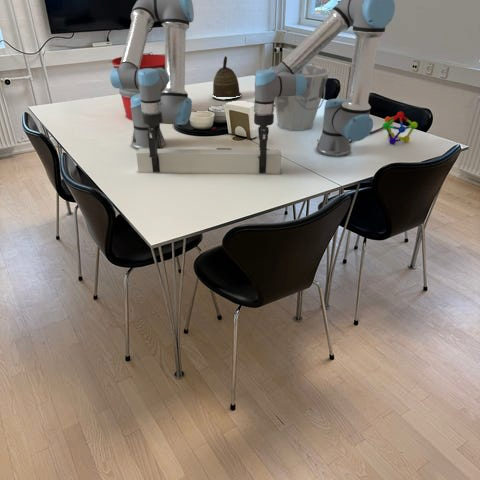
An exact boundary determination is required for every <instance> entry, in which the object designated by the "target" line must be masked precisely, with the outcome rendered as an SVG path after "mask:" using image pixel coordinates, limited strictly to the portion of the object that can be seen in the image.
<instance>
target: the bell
mask: <svg viewBox="0 0 480 480" xmlns="http://www.w3.org/2000/svg"><path fill="white" fill-rule="evenodd" d="M227 63H228V57H227V56H224V58H223V63H222V67H221V68H219V69H218V70H217V71H216V73H215V75H214V78H213V81H212V83H213V84H212V95H214V96H216V97H236V96H240V95H241V96H242V93H241V92H240V83H239V80H238V79H239V78H238V77H237V75H236V73H235V72H234V70H232V69H231V68H230V67H227Z"/></svg>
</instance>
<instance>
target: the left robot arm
mask: <svg viewBox="0 0 480 480" xmlns="http://www.w3.org/2000/svg"><path fill="white" fill-rule="evenodd" d="M194 18H195V12H194V3H193V0H136V2H135V4H134V5H133V7H132V9H131V13H130V20H131V22H130V27H129V30H128V34H127V37H126V41H125V45H124V48H123V51H122V56H121V57H122V59H121V63H120V66H119V68H114V67H113V68H112V69H111V70H110V73H109V80H110V81H109V82H110V84H111V86H112V87H113V88H114V89H118V90H119V89H139V90H140V94H137V95H134V96H133V97H132V98H131V111H132V119H133V120H132V125H133V132H132V135H131V138H130V140H131V147H132V148H134V149H135V150H138V149H149V151H150V156H149V157H151V158H152V168H153V172H152V173H159V172H160V167H159V157H158V152H157V149H164V148H163V147H164V146H165V144H166V140H165V137H164V135H163V132H162V130H161V126H160V125H175V126H180V125H181V126H183V125H186V124H188V122H189V121H190V119H191V116H192V111H193V101H192V99H191V98H190V97H189V93H188V92H187V91H186V89H185V85H186V84H185V82H186V81H185V80H186V31H187V30H188V29H189V28H190V23H192V22H194ZM155 22H161V27H163V28H164V31H165V32H164V33H165V34H164V37H165V38H164V49H165V50H164V55H165V70H164V69H163V68H156V69H152V68H147V69H139V67H140V63H141V59H142V56H143V55H144V54H143V53H144V51H145V47H146V43H147V41H148V36H149V33H150V29H151V28H153V26H154V23H155ZM164 88H165V89H164ZM162 89H164V90H163V91H162V92H161V96H160V91H161V90H162Z"/></svg>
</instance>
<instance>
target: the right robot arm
mask: <svg viewBox="0 0 480 480" xmlns="http://www.w3.org/2000/svg"><path fill="white" fill-rule="evenodd" d="M395 3H396V2H395V0H340V1H339V2H338V3H336V5H334V7H332V9H330V11H329V15H328V16H327V17H326V18H325V19H324V20H323V21H322V22H321V23H320V24H319V25H318V26H317V27H316V28H315V29H314V30H313V31H311V33H310V34H309V35H308V36H307V37H306V38H304V39H303V40H302V41H301V42H300V43H299V44H298V46H296V47H295V48H294V49H293V50H292V51H291V52H290V53H289V54H288V55H287V56H286V57H285V58H284V59H283V60H282V61H281V62H280V63H279V64H278V65H275V66H271V67H269V68H268V69H266V68H265V69H258V70H257V71H256V72H255V76H254V101H253V102H254V103H253V112H254V115H253V123H254V124H255V125H257V126H258V127H257V129H258V140H259V143H258V145H259V146H258V148H259V149H258V150H260V157H258V158H259V173H266V158H267V156H266V155H267V150H268V140H269V133H270V129H269V126H272V125H273V124H274V122H275V121H274V120H275V119H274V118H275V114H274V112H275V108H276V105H275V97H280V96H297V95H302V94H304V93H305V91H306V86H307V82H306V78H305V76H304V75H302V74H297V73H298V72H299V71H300V70H301V69H302V68H303V67H304V66H305V65H308V64H309V63H310V62H311V61H312V60H313V59H314V58H315V57H316V56H317V55H318V54H319V53H321V51H322V50H324V49H325V47H327V46H328V45H329V44H330V43H331V42H332V41H333V40H334V39H335V38H336V37H337V36H338V35H340V33H341V32H342V31H348V29H349V28H350V27H352V32H353V34H354V36H355V39H354V46H353V52H352V59H351V66H350V72H349V78H348V86H347V90H346V97H345V98H331V99H328V100H326V101H325V104H324V108H323V109H324V110H323V111H324V112H323V120H322V131H321V135H320V137H319V138H317V143H316V147H315V148H316V149H315V150H316V152H317V153H318V154H320V155H323V156H327V157H335V158H336V157H338V158H340V157H346V156H348V155H350V153H351V150H352V147H351V143H352V142H360V141H363V140H364V139H365V138H367V137H368V136H369V135H371V134H374V133H377V132H380V131H382V130H384V128H383V126H382V127H380V128H377V129H375V130H373V127H374V120H373V118H372V117H371V116H370V115H371V108H372V106H371V105H370V103H369V98H370V92H371V86H372V81H373V75H374V70H375V64H376V60H377V59H376V58H377V52H378V49H379V42H380V38H381V36H382V35H384V33H386V26H388V25H389V24H390V22H391V21H392V20H393V18H394V16H395V12H396V4H395Z"/></svg>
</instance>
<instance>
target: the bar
mask: <svg viewBox="0 0 480 480" xmlns="http://www.w3.org/2000/svg"><path fill="white" fill-rule="evenodd" d="M157 152H158V157H159V167H160V172H158V174H159V173H161V174H162V173H163V174H164V173H166V174H168V173H170V174H171V173H172V174H253V175H254V174H257V175H258V174H262V175H263V174H265V175H271V174H272V175H275V174H276V175H281V168H282V150H281V149H267V155H266V156H267V158H266V173H259V158H258V157H260V150H259V149H237V148H236V149H234V148H230V149H217V148H215V149H214V148H163V149H157ZM135 154H136V161H137V170H138V173H154V172H153V168H152V158H151V157H149V156H150V151H149V149H137V151H136V153H135Z"/></svg>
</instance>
